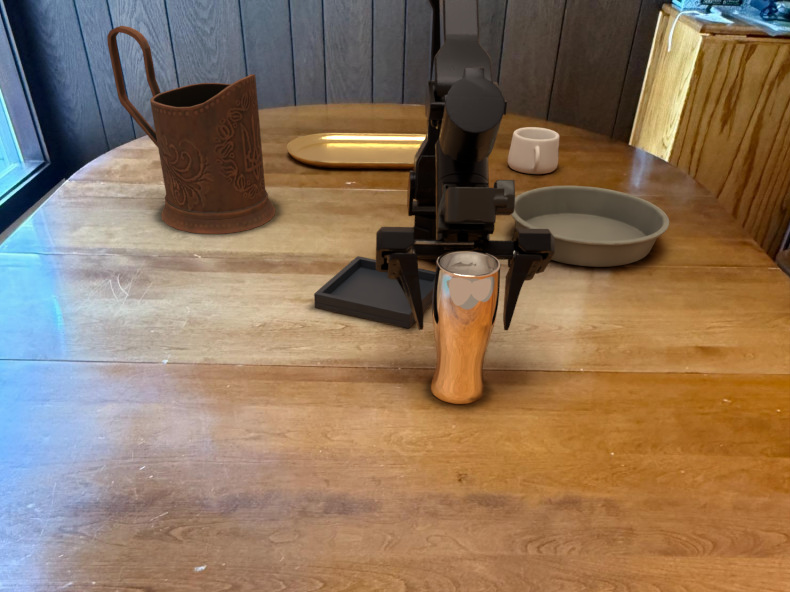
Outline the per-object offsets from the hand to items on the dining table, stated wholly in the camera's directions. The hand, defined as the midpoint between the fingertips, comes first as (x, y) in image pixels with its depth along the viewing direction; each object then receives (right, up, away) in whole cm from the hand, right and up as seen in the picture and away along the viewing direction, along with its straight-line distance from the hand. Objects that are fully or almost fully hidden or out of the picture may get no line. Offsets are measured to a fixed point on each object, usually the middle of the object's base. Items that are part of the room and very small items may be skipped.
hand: (463, 329), depth 83 cm
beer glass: (0, -6, +6) cm, 8 cm away
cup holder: (-39, +32, +46) cm, 68 cm away
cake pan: (+22, +25, +41) cm, 52 cm away
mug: (+19, +48, +66) cm, 84 cm away
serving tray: (-9, +10, +23) cm, 27 cm away
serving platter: (-11, +52, +69) cm, 88 cm away
